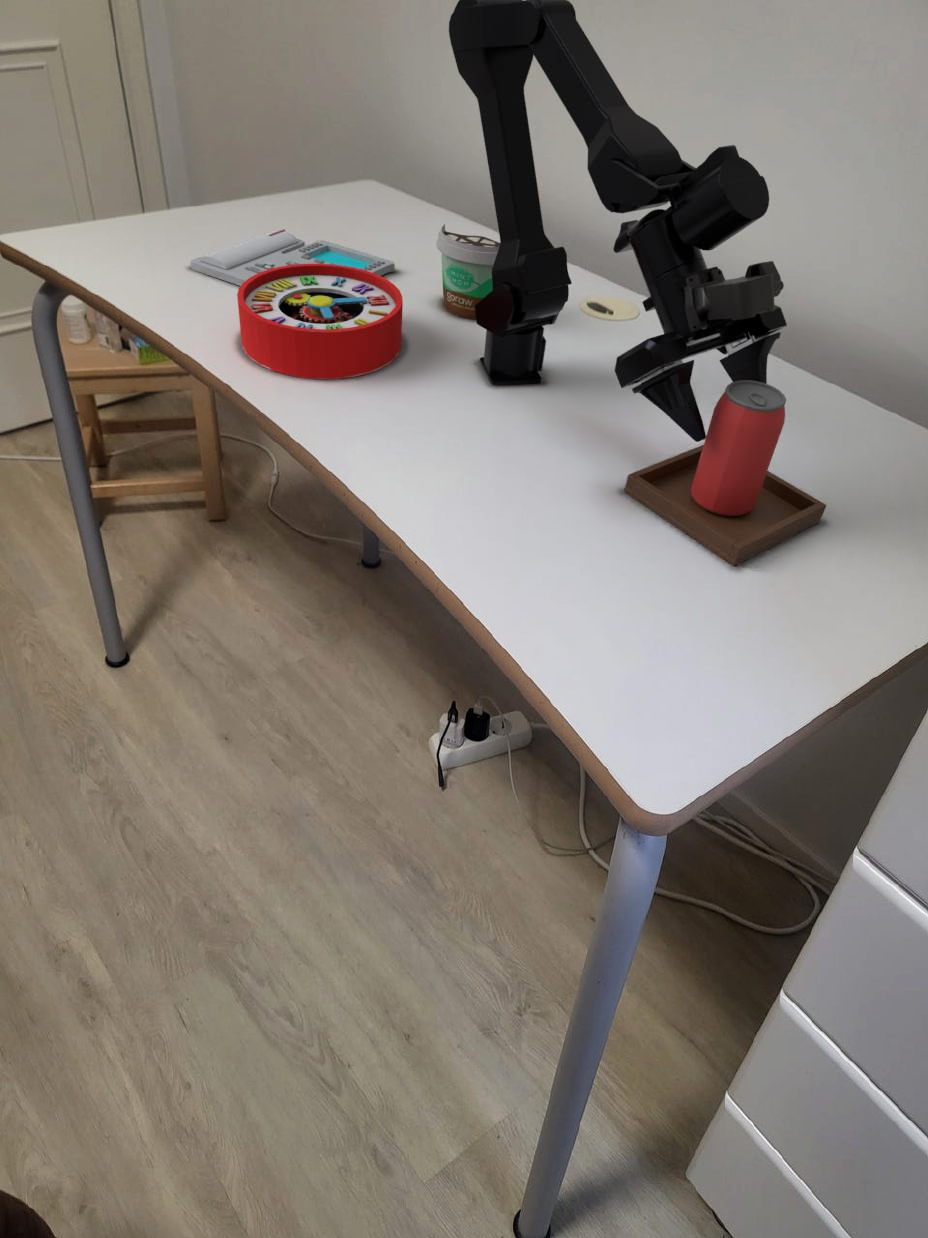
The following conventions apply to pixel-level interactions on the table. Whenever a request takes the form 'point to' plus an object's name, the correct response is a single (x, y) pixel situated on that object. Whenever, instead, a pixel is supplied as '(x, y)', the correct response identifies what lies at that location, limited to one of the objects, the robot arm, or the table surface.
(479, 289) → the food container
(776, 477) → the tray
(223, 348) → the table surface
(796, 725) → the table surface
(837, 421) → the table surface
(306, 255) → the office telephone
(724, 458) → the beer can
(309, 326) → the toy clock
